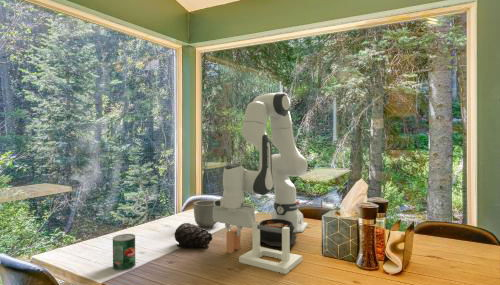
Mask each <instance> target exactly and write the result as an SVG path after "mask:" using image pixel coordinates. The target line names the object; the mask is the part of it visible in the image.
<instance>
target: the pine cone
mask: <svg viewBox="0 0 500 285" xmlns="http://www.w3.org/2000/svg"><path fill="white" fill-rule="evenodd" d="M174 239H175V241H176V242H177V243H178V244H176V247H177V248H182V249H187V250H188V249H189V250H200V251H201V250H204V251H207V250H209V249H210V246H209V245H210V243H211V241H213V234H212V233H211V232H209V231H208V230H207V229H205V228H201V227H200V226H199V225H197V224H193V223H190V222H183V223H181V224H180V225H179V226H178V227H177V228H175V231H174Z"/></svg>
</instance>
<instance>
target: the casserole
mask: <svg viewBox="0 0 500 285" xmlns="http://www.w3.org/2000/svg"><path fill="white" fill-rule="evenodd" d="M260 225H262V226H268V227H273V228H279V229H282V228H283V227H290V246H293V245H294V244H295V241H296V239H297V235H295V233H293V230H294V229H295V227H294V226H293V224H292V222H290V221H287V220H282V219H272V218H271V219H264V220H261V221H260ZM260 242H261V243H265V244H266V245H268V246H270V247H282V233H277V232H271V231H266V230H260Z"/></svg>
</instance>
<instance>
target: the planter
mask: <svg viewBox="0 0 500 285" xmlns="http://www.w3.org/2000/svg"><path fill="white" fill-rule="evenodd" d="M214 201H215V200H210V199H206V200H197V201H194V202H193V206H192V207H193V218H194V221H195V224H196V225H197V226H198V227H200V228H205V229H206V230H208V229H212V228H213V227H214V226H215V225H216V224H217V223H218V222H214V220H213V207H214V205H213V202H214Z"/></svg>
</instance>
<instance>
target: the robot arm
mask: <svg viewBox="0 0 500 285" xmlns="http://www.w3.org/2000/svg"><path fill="white" fill-rule="evenodd" d="M291 104H292V103H291V98H290V96H289V95H288V94H287V93H286V92H282V91H278V92H268V93H265V94H261V95H255V96H253V97H251V98H250V100H249V102H248V104H247V106H246V109H245V111H244V115H243V121H242V126H241V135H242V138H243V139H244V140H245V141H246V142H247V143H249V144H251V145H252V146H255V147H256V148H257V150H258V153H259V154H258V155H259V158H258V159H259V162H258V163H259V168H258V170H249V169H246V168H244V167H243V165H242V164H241V163H238V162H237V163H229V164H227V165H225V166H224V168H223V173H222V187H223V188H222V189H223V193H222V197H221V198H218V199H216V200H214V202H213V205H214V207H213V220H214V222H217V223H219V224H220V223H221V224H224V227H225V229H226V233H227V232H228V231H230V230H232V228H231V226H236V228H237V229H238V230H237V231H235V236H240V237H241V231H242V229H243V228H248V229H251V228H252V223H254V222H256V215H255V214H256V213H255V212H256V211H255V207H254V206H253V205H252V204H247V203H245V202H244V201H245V194H244V192H245V193H252V194H255V195H260V196H266V195H267V194H269V193H270V192H271V191H272V189H274V202H273V210H272V212H271V219H282V220H287V221H290V222H292V224H293V226H294V227H295V229H294V230H293V234H295V233H303V231H304V230H305V229H306V228H307V227H308V222H305V221H304V214H303V213H302V212H301V211H300V210H299V208H298V206H300V201H297V187H296V186H295V184H294V183H293V182H292V180H291V178H290V177H301V176H304V175H305V174H306V173H307V172H308V168H309V166H308V160H307V159H306V158H305V157H304V156H303V155H302V154H301V153H300V152H299V150H298V148H297V146H296V143H295V138H294V131H293V122H292V117H291V114H290V109H291ZM268 117H269V121H270V122H269V123H270V125H269V126H270V134H271V138H270V136H269V135H268V134H267V126H268V125H267V124H268ZM272 145H273V146H274V147H275V148H276V149H277V150H278V152H279V153H273V152H272ZM272 153H273V154H272Z"/></svg>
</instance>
